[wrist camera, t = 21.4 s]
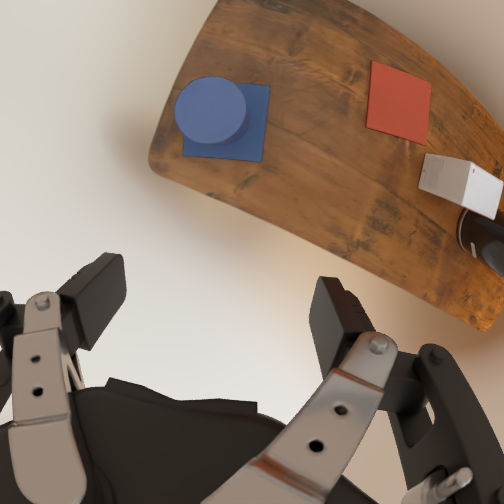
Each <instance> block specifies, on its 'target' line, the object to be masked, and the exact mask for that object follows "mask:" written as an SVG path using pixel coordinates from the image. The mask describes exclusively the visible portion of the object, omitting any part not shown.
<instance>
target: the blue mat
mask: <svg viewBox="0 0 504 504" xmlns="http://www.w3.org/2000/svg"><path fill="white" fill-rule="evenodd" d="M191 82H193V81H190V83H191ZM234 84H236V85H237V86H238V87H239V89H240V90H241V91H242V93H243V95H244V97H245V101H246V105H247V109H248V114H249V126H248V129H247V131H246V132H245V134H244V135H243V136H242V137H241V138H240V139H238V140H236V141H234V142H231V143H225V144H201V143H197V142H194V141H192V140H190V139H189V138H187V137H186V136H185V135H184V145H183V156H197V157H212V158H224V159H236V160H246V161H255V162H261V159H262V151H263V143H264V134H265V126H266V118H267V109H268V101H269V93H270V86H264V85H255V84H244V83H234Z"/></svg>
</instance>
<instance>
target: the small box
mask: <svg viewBox="0 0 504 504" xmlns="http://www.w3.org/2000/svg"><path fill="white" fill-rule="evenodd" d="M418 188H419V189H422V190H424V191H427V192H429V193H432V194H434V195H437V196H439V197H442V198H444V199H446V200H448V201H451V202H453V203H455V204H458V205H460V206H462V207H464V208H466V209H469V210H471V211H473V212H475V213H478V214H480V215H482V216H485V217H487V218H489V219H492V220H494V219H495V215H496V212H497V208H498V205H499V201H500V197H501V192H502V188H503V181H501V180H499V179H497V178H496V177H494V176H493V175H491V174H490V173H488V172H486V171H485V170H483V169H482V168H480V167H478V166H477V165H475V164H474V163H472V162H471V161H466V160H461V159H456V158H452V157H446V156H441V155H435V154H428V153H426V154H425V159H424V163H423V168H422V173H421V177H420V181H419V185H418Z"/></svg>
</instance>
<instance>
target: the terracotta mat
mask: <svg viewBox="0 0 504 504" xmlns="http://www.w3.org/2000/svg"><path fill="white" fill-rule="evenodd" d="M430 97H431V83H428V82H426V81H424V80H422V79H419V78H417V77H415V76H412V75H410V74H408V73H405V72H403V71H400V70H397V69H395V68H392V67H389V66H387V65H384V64H381V63H378V62H375V61H371V75H370V88H369V99H368V109H367V118H366V128H370V129H374V130H377V131H381V132H384V133H388V134H391V135H394V136H398V137H401V138H404V139H407V140H410V141H413V142H416V143H419V144H422V145H424V146H426V141H427V132H428V123H429V112H430Z"/></svg>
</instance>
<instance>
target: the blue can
mask: <svg viewBox="0 0 504 504" xmlns="http://www.w3.org/2000/svg"><path fill="white" fill-rule="evenodd" d="M174 114H175V120H176V123H177V126H178V128H179V129H180V131H181V132H182V133H183V134H184V135H185V136H186V137H187V138H189V139H190V140H192V141H194V142H197V143H201V144H225V143H231V142H234V141H236V140H238V139H240V138H241V137H242V136H243V135H244V134H245V132H246V131H247V129H248V126H249V114H248V109H247V105H246V101H245V97H244V95H243V93H242V91H241V90H240V89H239V87H238V86H237V85H236V84H234V83H233V82H231V81H230V80H228V79H225V78H222V77H217V76H208V77H203V78H199V79H197V80H195V81H193V82H191V83H190V84H188V85H187V86H186V87H185V88H184V89H183V90H182V92H181V93H180V95H179V96H178V98H177V101H176V104H175V111H174Z"/></svg>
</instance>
